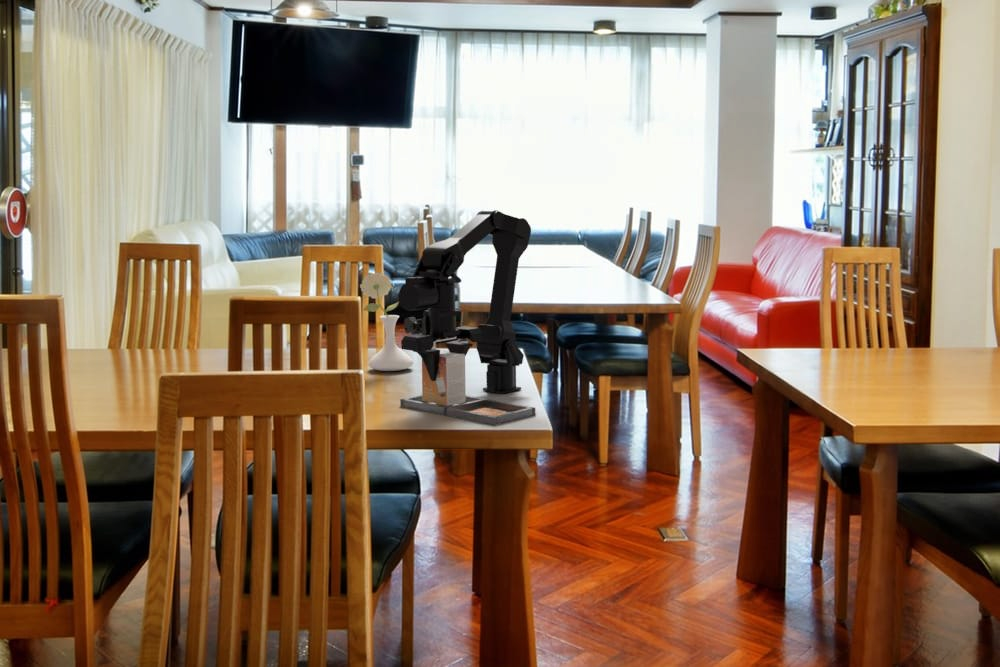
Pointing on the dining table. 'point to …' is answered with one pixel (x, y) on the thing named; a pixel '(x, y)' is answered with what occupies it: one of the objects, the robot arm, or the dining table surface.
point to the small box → (445, 380)
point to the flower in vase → (390, 353)
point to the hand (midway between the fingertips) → (443, 378)
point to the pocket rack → (476, 415)
